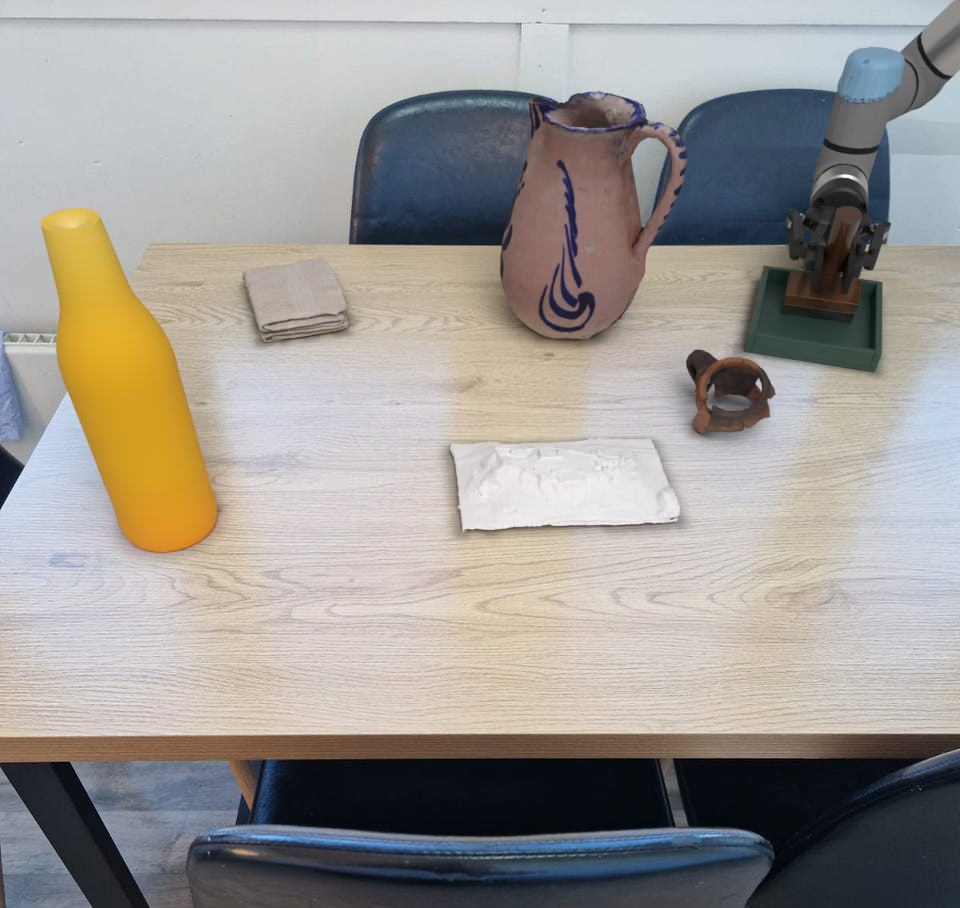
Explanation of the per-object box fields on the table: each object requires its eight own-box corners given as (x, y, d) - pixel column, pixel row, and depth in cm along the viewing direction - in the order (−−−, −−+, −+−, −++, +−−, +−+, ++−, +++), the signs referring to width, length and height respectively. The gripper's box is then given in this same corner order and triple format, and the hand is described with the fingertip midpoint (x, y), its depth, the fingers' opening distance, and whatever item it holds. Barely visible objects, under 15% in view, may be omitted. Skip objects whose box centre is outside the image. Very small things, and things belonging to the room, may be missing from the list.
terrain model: (693, 530, 86) (705, 490, 82) (467, 552, 82) (470, 511, 79) (640, 434, 97) (649, 394, 93) (438, 449, 93) (439, 408, 89)
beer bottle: (104, 545, 83) (-25, 237, 61) (153, 487, 89) (52, 188, 67) (191, 563, 81) (90, 253, 59) (236, 503, 87) (158, 202, 65)
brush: (855, 299, 113) (890, 206, 101) (851, 323, 111) (887, 232, 99) (785, 289, 115) (811, 197, 103) (780, 312, 113) (806, 221, 101)
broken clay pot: (785, 419, 98) (798, 382, 90) (724, 474, 98) (731, 442, 90) (710, 354, 102) (715, 313, 94) (650, 408, 102) (651, 371, 94)
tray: (876, 299, 117) (882, 281, 115) (874, 372, 104) (882, 353, 103) (759, 282, 120) (763, 265, 118) (744, 351, 108) (749, 332, 106)
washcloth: (262, 347, 108) (258, 323, 105) (241, 284, 119) (236, 261, 117) (355, 332, 110) (353, 309, 108) (325, 271, 122) (323, 249, 119)
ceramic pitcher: (524, 282, 120) (533, 74, 101) (673, 310, 115) (712, 96, 96) (478, 342, 109) (479, 120, 90) (641, 375, 104) (678, 148, 85)
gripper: (889, 241, 119) (890, 320, 104) (771, 226, 122) (755, 301, 107) (909, 183, 114) (914, 258, 99) (785, 169, 117) (771, 240, 102)
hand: (831, 280), depth 103 cm, fingers closed on brush, 3 cm apart
